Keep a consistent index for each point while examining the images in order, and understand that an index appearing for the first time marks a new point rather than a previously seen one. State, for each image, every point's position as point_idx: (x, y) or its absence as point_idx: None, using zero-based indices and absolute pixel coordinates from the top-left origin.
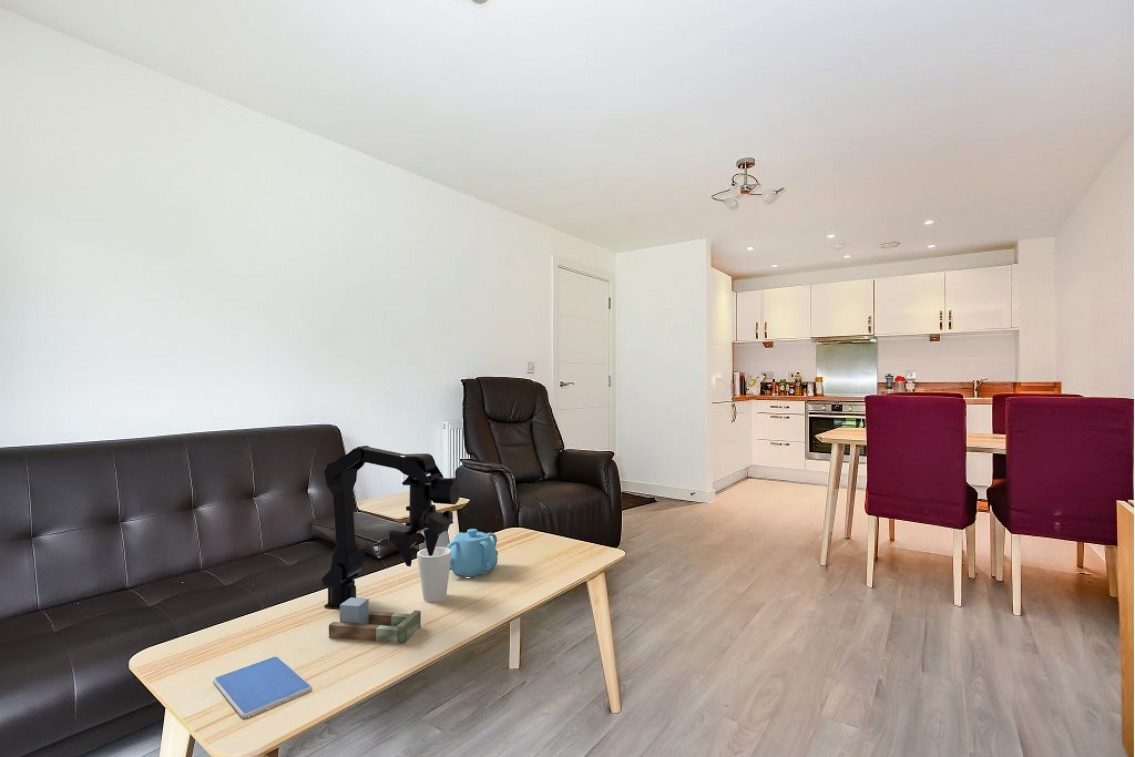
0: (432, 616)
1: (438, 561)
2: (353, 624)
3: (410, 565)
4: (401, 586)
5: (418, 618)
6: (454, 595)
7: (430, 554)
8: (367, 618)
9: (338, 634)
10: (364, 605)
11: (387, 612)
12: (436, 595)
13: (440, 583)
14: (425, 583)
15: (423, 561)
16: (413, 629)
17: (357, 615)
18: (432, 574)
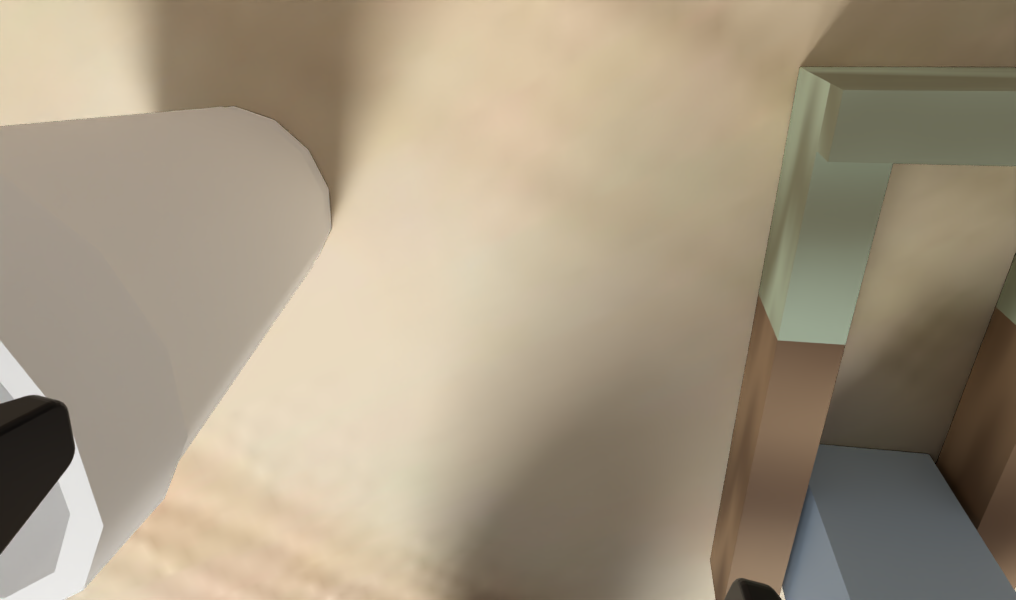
0: (578, 56)
1: (32, 257)
2: (997, 538)
3: (770, 594)
4: (178, 476)
5: (876, 81)
6: (143, 49)
7: (50, 438)
8: (829, 490)
9: None
10: (917, 593)
11: (768, 397)
12: (286, 162)
13: (203, 155)
14: (274, 297)
15: (149, 461)
16: (972, 72)
17: (997, 570)
18: (206, 263)
